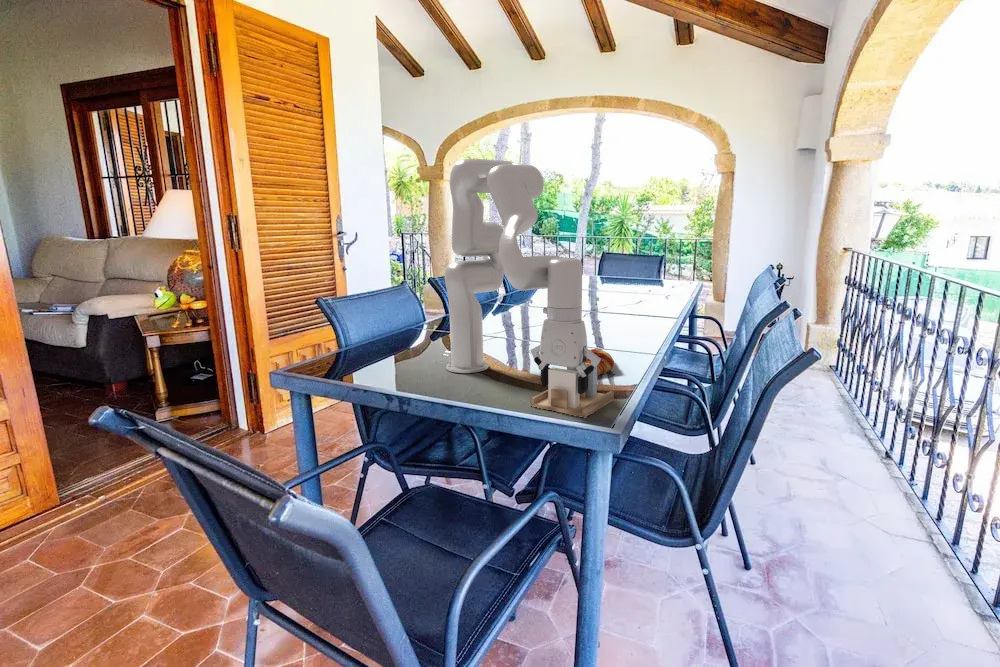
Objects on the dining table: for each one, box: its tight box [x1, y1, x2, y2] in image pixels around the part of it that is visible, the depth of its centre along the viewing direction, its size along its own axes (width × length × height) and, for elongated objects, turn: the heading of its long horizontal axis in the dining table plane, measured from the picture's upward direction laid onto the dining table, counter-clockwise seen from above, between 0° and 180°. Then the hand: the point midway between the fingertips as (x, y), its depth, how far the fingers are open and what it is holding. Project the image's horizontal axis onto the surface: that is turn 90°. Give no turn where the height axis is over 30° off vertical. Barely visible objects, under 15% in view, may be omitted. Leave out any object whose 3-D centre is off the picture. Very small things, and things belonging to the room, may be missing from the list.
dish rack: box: [530, 367, 615, 418], centre depth 123 cm, size 14×15×8 cm
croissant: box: [586, 348, 615, 376], centre depth 151 cm, size 21×10×8 cm, turn 151°
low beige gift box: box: [547, 367, 580, 408], centre depth 119 cm, size 7×2×8 cm, turn 54°
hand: (563, 388), depth 119 cm, fingers open, 9 cm apart
